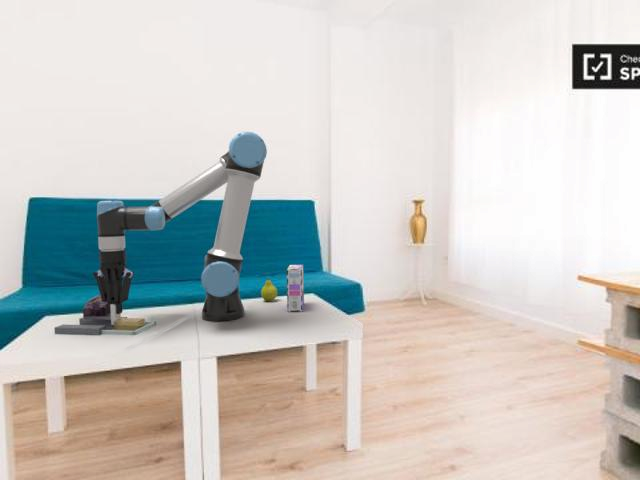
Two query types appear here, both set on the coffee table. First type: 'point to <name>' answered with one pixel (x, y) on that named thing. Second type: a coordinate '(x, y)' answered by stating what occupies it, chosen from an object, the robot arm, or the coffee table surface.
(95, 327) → the rail
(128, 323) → the brass block
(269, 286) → the fruit
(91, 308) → the rock
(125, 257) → the robot arm
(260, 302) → the coffee table surface
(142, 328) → the tray
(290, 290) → the candy box
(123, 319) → the brass block
